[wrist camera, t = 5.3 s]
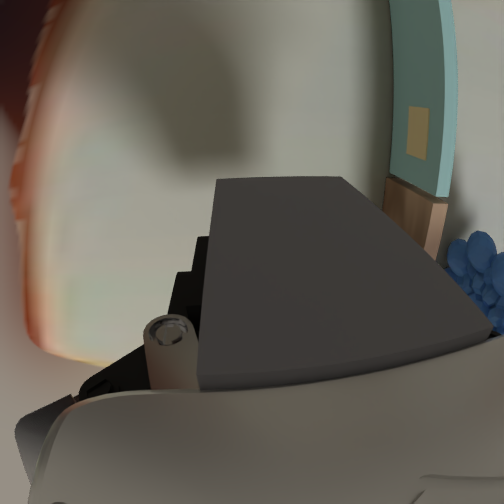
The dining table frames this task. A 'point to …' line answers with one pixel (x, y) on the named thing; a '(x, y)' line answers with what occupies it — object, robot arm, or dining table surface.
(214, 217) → the doorstop block
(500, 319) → the grapes
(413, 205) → the brown wooden block
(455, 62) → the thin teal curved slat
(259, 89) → the dining table surface
